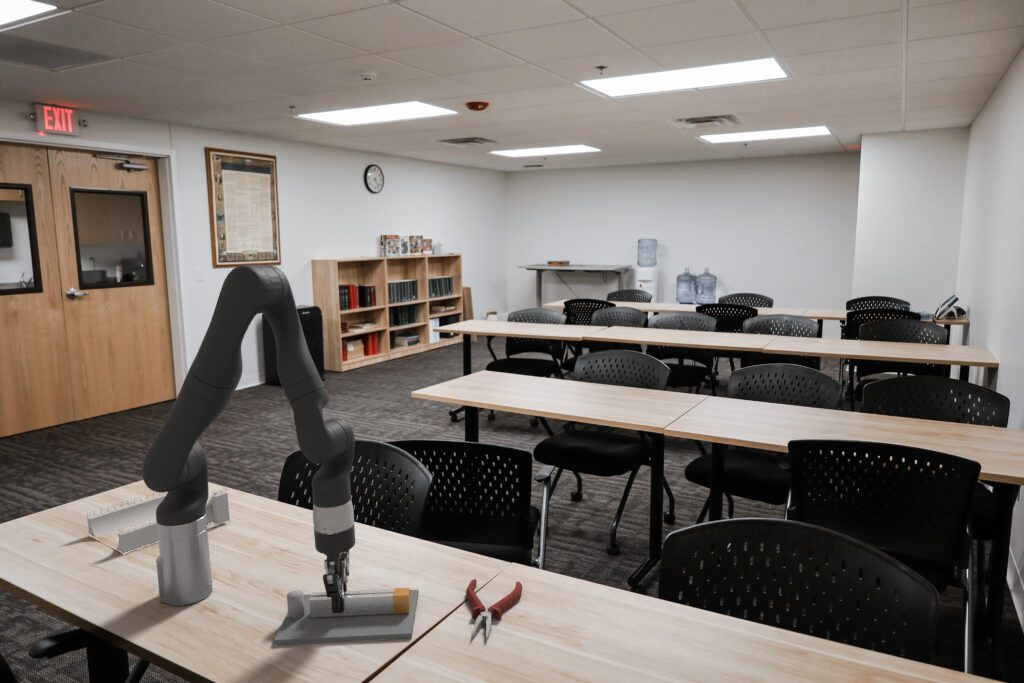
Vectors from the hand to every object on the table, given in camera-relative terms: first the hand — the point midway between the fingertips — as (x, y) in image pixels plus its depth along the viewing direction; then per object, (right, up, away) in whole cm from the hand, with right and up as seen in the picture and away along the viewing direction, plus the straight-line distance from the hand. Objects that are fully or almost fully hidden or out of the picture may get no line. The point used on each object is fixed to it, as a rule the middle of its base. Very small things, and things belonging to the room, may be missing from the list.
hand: (340, 607), depth 131 cm
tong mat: (+2, -2, 0) cm, 3 cm away
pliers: (+28, -2, +3) cm, 28 cm away
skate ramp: (-58, +2, +44) cm, 73 cm away
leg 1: (+4, -1, +1) cm, 4 cm away
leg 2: (+4, -1, 0) cm, 4 cm away
